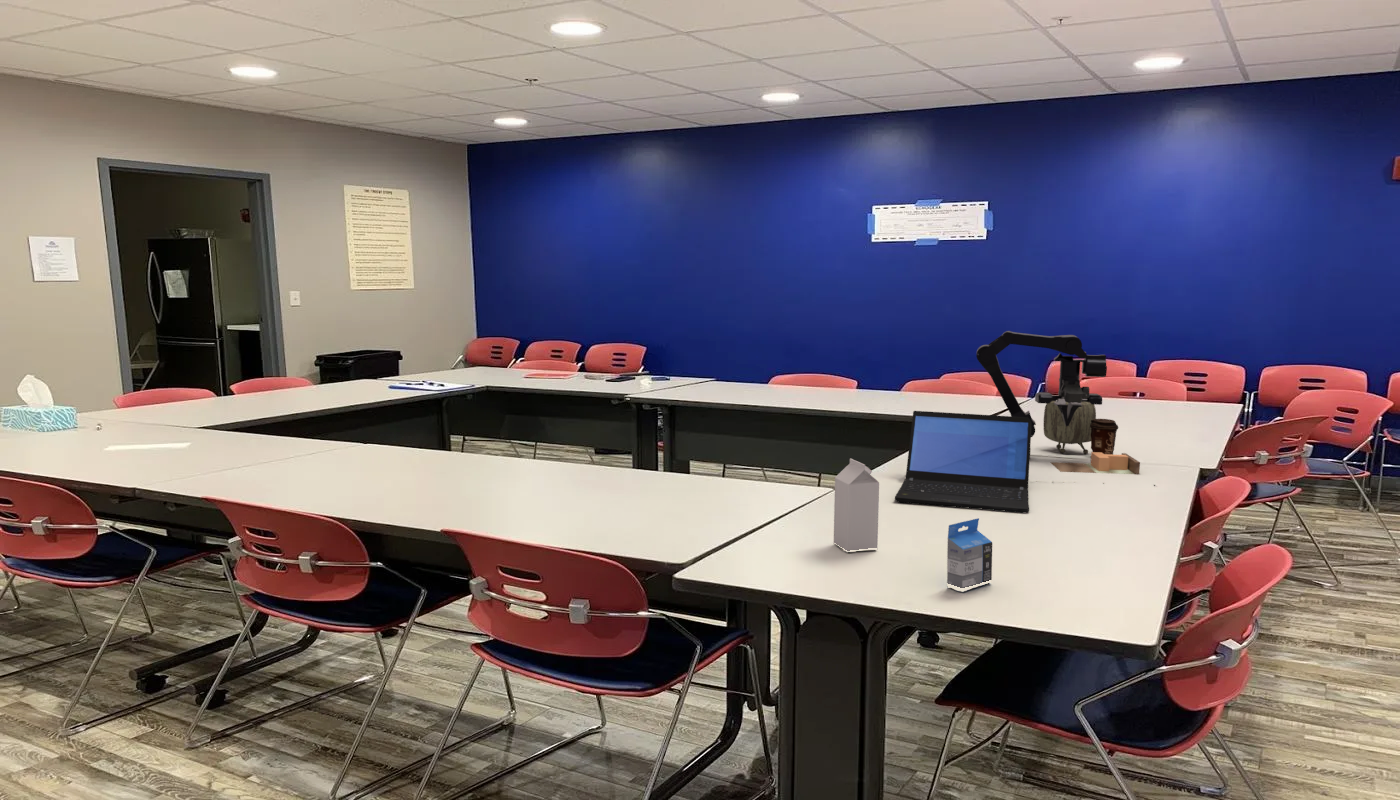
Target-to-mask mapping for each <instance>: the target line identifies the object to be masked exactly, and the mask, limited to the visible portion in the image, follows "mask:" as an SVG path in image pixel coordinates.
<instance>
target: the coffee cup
mask: <svg viewBox="0 0 1400 800" xmlns="http://www.w3.org/2000/svg"><path fill="white" fill-rule="evenodd" d="M1090 427H1091V441H1090V449H1091V452H1102V453H1103V454H1113V455H1114V450H1115V447H1116V446H1115V445H1116V438H1117V437H1116V436H1117V431H1118V429H1119V426H1118V424H1117V423H1116V421H1115V420H1114V419H1108V418H1096V419H1093V420H1091V424H1090Z"/></svg>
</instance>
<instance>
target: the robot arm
mask: <svg viewBox="0 0 1400 800" xmlns="http://www.w3.org/2000/svg"><path fill="white" fill-rule="evenodd" d="M1009 345H1016V346H1017V345H1018V346H1025V347H1026V346H1027V347H1035V348H1042V349H1043V348H1045V349H1049V350H1053V351H1055V352H1056V351H1057V352H1059V353H1058V355H1057V356H1055V357H1054V358H1053V360H1054V361H1055V362H1060V365H1059V366H1060V367H1059V378H1058V393H1057V394H1056V395H1055V394H1052V393H1050V392H1043V391H1042V392H1036V393H1035V397H1034V398H1035V399H1034V401H1035V402H1036V403H1037V404H1047V403H1048V404H1049V403H1050V402H1052V401H1055V402H1054V404H1055V405H1056V406H1058V407H1059V410H1060V412H1061V414H1062V417H1063V421H1064V424H1065V426H1069V424H1070V422H1071V419H1072V417H1073V415H1074V413H1075V411H1076V410H1077V409H1078V407H1082V405H1081V403H1082V402H1090V403H1091V404H1094V405H1096V406H1097V405H1099V406H1102V405H1103V397H1102V395H1100V394H1099V393H1092V392H1091V393H1090V386H1081V383H1080V382H1081V379H1080V373H1081V374H1084V375H1085V377H1086V378H1087V377H1090V378H1091V377H1092V378H1094V377H1095V378H1106V377H1107V371H1108V366H1107V355H1106V354H1087V352H1086V351H1085V350H1084V349H1083V343H1082V339H1080V338H1079V337H1078V336H1076V335H1075V334H1061V335H1060V334H1059V335H1050V336H1049V335H1042V334H1041V335H1040V334H1031V333H1024V332H1015V331H1011V330H1006V331H1004V332H1003V333H1001V335H999V336H998V337H997V338H995V339H994V340H993V341H991V342H990V343H989V344H983V345H980V346H979V347H978V348H977V350H976V359H977V361H978V363H979V364H980V365H981V366H982V367H983V369H984V370H985V371H986V372H987V373H988V375H989V376H990V378H991V380H992V381H993V384H994V386H995V387H996V389H997V391H998V393H999V396H1000V397H1001V398H1002V400H1003V402H1004V405H1005V406H1006V408H1007V410H1008V412H1009V414H1010V416H1012V417H1027V418H1029V420H1030V421H1031V438H1033V437H1034V436H1035V433H1036V427H1035V426H1036V425H1037V423H1036V420H1034V419H1033V417H1032V416H1031V412H1030V410H1027V411H1026V412H1025V411H1024V409H1023V408H1022V407H1021V406H1020V404H1019V402H1018V399H1017V398H1016V396H1015V394H1014V392H1013V389H1012V388H1011V387H1010V384H1009V383H1008V381H1007V379H1006V377H1005V375H1004V374H1003V371H1002V369H1001V367H1000V362H999V359H998V357H997V355H998V354H1000V353H1001V352H1002V351H1003V350H1004V349H1006V348H1007V347H1008V346H1009ZM1062 353H1063V354H1066V355H1062ZM1073 355H1074V356H1076V357H1077V358H1079V359H1075V358H1074V356H1073ZM1066 402H1067V403H1068V405H1067V404H1066ZM1067 407H1068V410H1067ZM1031 450H1032V449H1031V447H1030V451H1031Z"/></svg>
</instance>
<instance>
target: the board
mask: <svg viewBox="0 0 1400 800" xmlns="http://www.w3.org/2000/svg"><path fill="white" fill-rule="evenodd" d="M1121 455H1126V456H1128V470H1112V469H1109V471H1098V470H1096V469H1095V468H1094V467H1093V466H1091V462H1090V463H1085V462H1084V463H1083V462H1059V461H1058V462H1054V461H1053V462H1050V464H1051V465H1052V466H1054V468H1056V469H1057V470H1058V471H1059V472H1060V473H1082V474H1083V473H1085V474H1086V473H1087V474H1088V473H1090V474H1091V473H1093V474H1114V475H1115V474H1116V475H1117V474H1119V475H1140V468H1141V467H1140V466H1141V462H1140V461H1139V460H1137V459H1136V458H1134V457H1132V456H1131V455H1129V454H1128V453H1125V452H1122V453H1121Z"/></svg>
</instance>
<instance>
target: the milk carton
mask: <svg viewBox="0 0 1400 800" xmlns="http://www.w3.org/2000/svg"><path fill="white" fill-rule="evenodd" d="M872 473H873V471H872V470H871V469H870V467H868V466H866V464H864V463H862V462H860V461H857V460H855V459H853V458H849V464H848V465H846V466H845V467H844V468H843V469H842V470H841V471H840V472H838V474H837V475H836V476H835V477H834V505H833V507H834V508H833V509H834V511H833V513H834V514H833V515H834V516H833V544H834V543H836V544H837V545H839V546H840V547H842V548H844V549H845V550H847V551H850V550H859V549H868V548H877V549H878V541H879V540H878V539H879V538H878V535H879V510H880V509H879V505H880V504H879V502H880V482H879V481H878V480H877V479H876V478H875V477H874V476H873V475H871V474H872Z"/></svg>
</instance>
